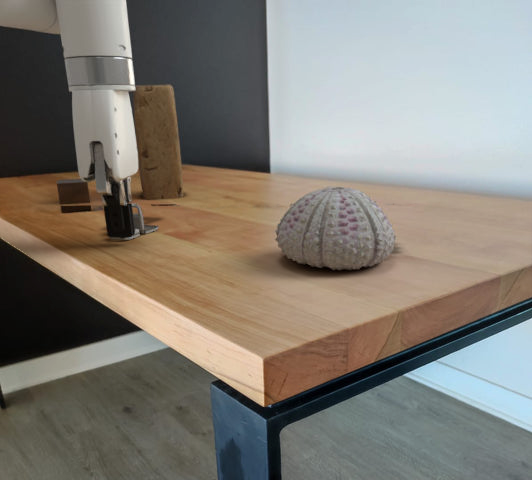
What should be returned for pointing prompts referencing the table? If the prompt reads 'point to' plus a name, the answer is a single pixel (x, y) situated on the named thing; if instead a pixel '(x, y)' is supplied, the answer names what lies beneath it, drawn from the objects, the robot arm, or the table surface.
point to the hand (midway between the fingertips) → (121, 235)
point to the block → (158, 142)
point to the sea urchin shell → (336, 230)
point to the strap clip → (138, 225)
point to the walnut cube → (73, 195)
